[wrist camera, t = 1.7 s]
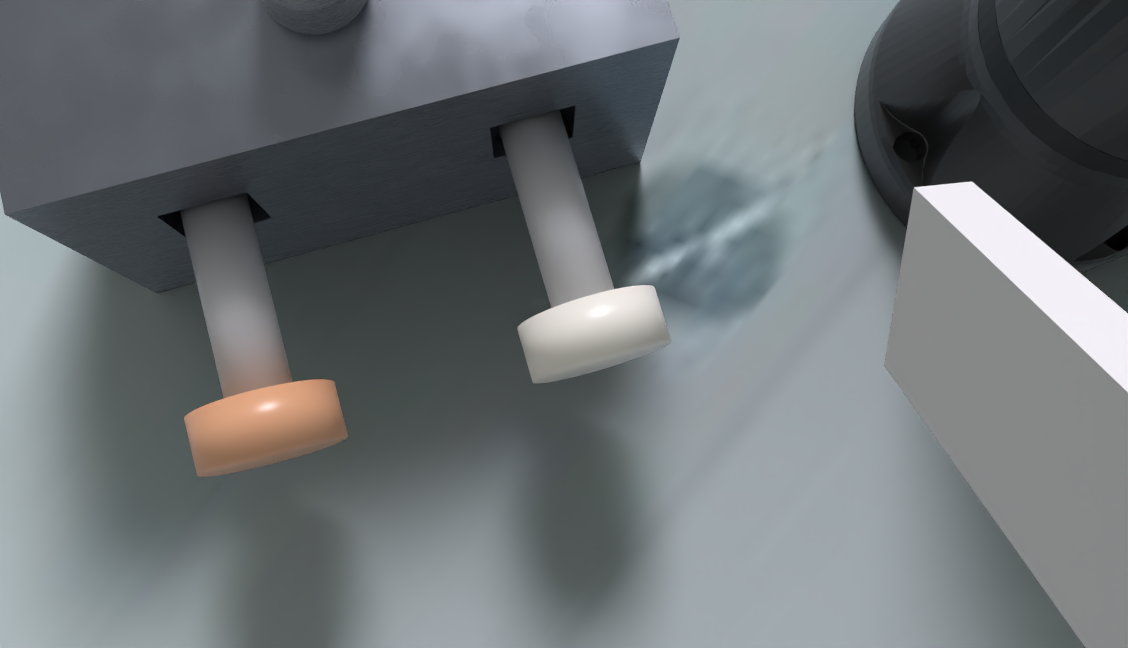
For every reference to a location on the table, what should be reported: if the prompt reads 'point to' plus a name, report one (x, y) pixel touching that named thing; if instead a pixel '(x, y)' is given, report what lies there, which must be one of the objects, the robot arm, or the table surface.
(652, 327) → the knob
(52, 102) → the grey puzzle box
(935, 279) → the robot arm
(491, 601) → the table surface
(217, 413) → the knob
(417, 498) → the table surface
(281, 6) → the dial
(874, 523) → the table surface
